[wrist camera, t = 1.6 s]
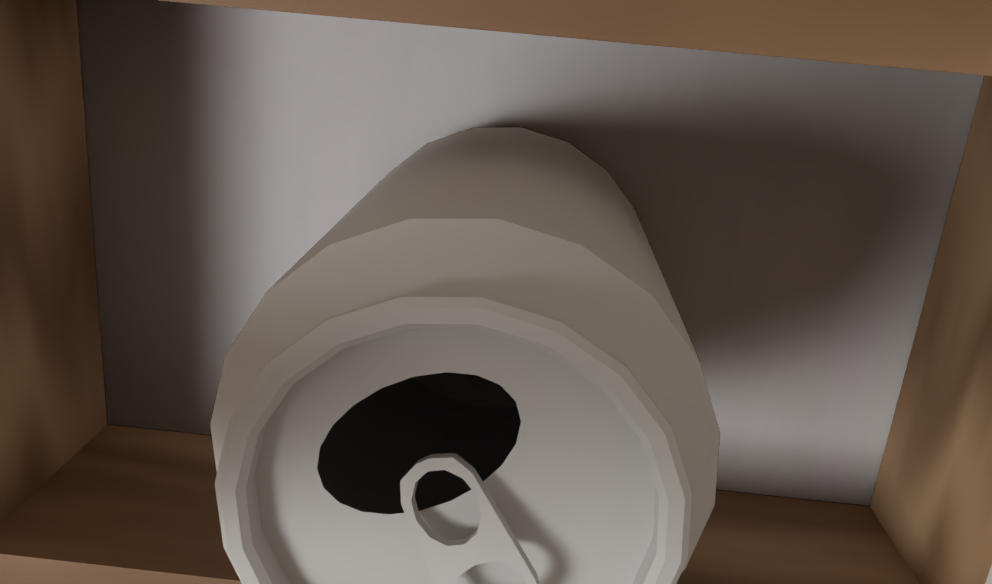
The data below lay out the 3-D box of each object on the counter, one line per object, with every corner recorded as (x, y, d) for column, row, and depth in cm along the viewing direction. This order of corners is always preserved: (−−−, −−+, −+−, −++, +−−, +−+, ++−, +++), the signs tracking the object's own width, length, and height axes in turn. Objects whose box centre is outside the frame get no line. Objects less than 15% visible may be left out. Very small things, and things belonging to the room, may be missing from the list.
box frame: (902, 547, 24) (1012, 714, 18) (69, 456, 25) (-75, 588, 19) (1052, 20, 19) (1263, 23, 14) (22, -71, 20) (-188, -105, 14)
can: (565, 66, 20) (583, 133, 9) (690, 324, 22) (838, 651, 11) (308, 204, 22) (41, 412, 10) (445, 434, 24) (349, 823, 12)
